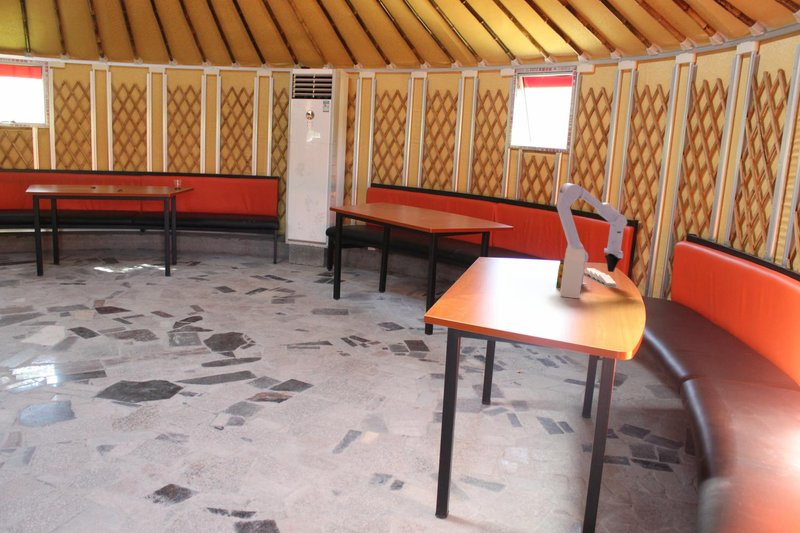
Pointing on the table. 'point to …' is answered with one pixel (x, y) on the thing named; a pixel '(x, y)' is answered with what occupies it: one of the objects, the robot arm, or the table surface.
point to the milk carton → (572, 273)
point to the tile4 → (589, 271)
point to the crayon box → (560, 274)
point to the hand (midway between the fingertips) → (610, 271)
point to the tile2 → (598, 276)
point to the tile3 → (594, 273)
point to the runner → (600, 282)
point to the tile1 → (607, 280)
